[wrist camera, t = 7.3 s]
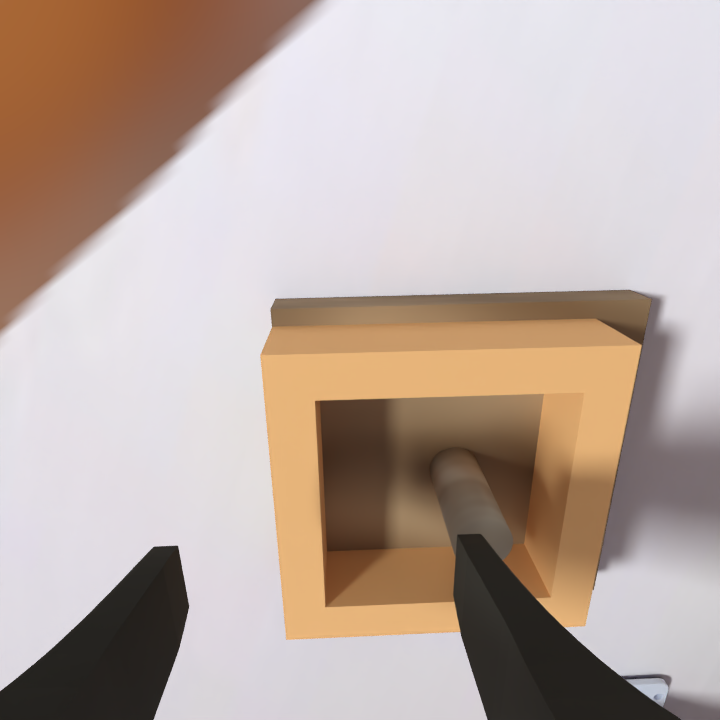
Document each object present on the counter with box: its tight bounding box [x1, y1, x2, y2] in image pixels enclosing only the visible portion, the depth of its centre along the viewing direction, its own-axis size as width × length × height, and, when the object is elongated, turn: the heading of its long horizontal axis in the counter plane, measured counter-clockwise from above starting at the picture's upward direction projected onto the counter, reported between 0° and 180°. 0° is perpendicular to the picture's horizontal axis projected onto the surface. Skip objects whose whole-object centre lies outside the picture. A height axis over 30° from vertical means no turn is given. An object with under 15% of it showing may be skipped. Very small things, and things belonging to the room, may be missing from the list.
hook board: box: [271, 290, 652, 590], centre depth 19 cm, size 14×14×6 cm
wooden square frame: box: [260, 319, 642, 640], centre depth 19 cm, size 12×12×3 cm
